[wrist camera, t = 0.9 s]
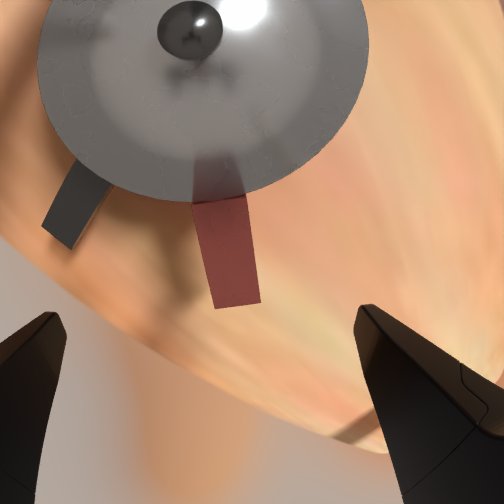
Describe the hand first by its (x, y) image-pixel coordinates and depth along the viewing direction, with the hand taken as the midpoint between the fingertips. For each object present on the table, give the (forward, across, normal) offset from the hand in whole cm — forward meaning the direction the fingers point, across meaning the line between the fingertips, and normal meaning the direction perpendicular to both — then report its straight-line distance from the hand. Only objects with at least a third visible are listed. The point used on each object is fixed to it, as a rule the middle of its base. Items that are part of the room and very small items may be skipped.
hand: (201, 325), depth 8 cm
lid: (+8, 0, -6) cm, 10 cm away
